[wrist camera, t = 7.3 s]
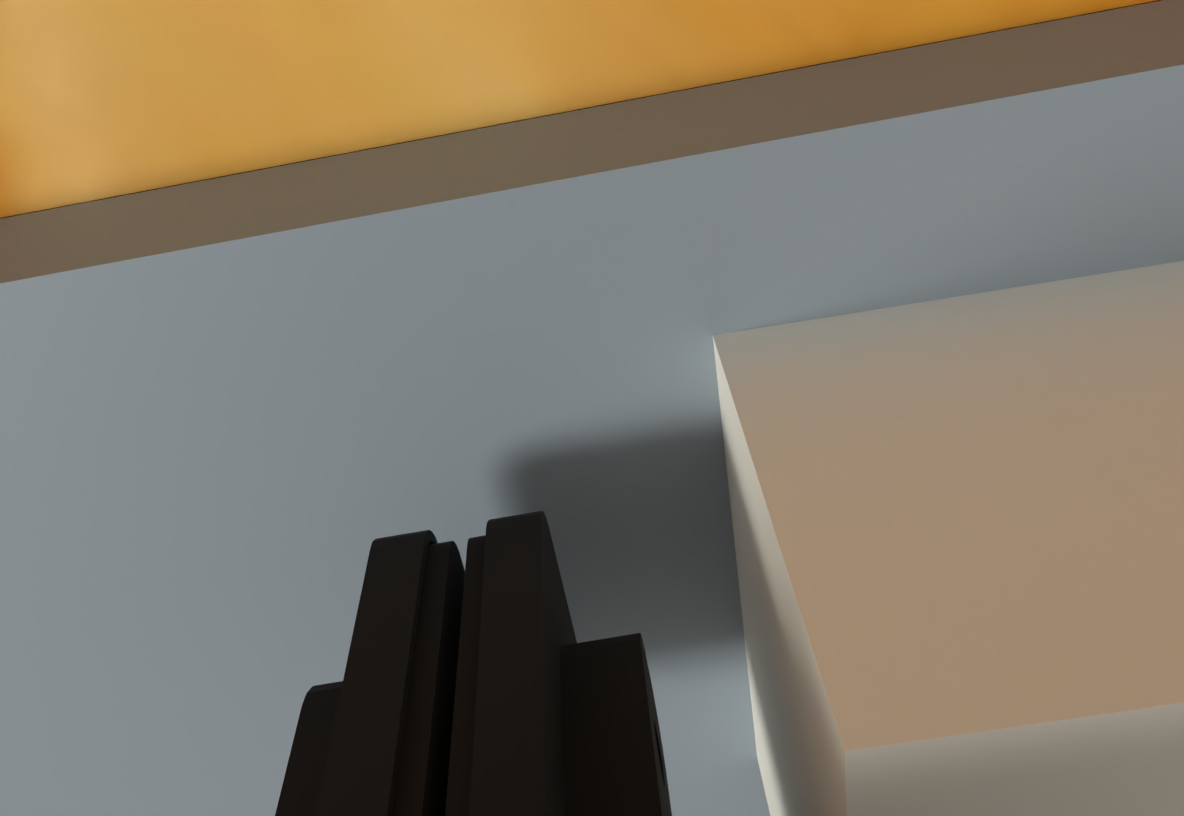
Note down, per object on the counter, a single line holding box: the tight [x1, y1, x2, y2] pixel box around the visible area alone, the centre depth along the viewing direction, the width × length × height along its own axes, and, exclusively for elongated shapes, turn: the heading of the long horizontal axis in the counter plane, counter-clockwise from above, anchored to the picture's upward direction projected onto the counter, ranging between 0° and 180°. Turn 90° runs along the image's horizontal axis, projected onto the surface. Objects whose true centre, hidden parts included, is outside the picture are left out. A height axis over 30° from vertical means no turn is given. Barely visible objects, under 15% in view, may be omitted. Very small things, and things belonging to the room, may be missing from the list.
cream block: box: [713, 261, 1184, 816], centre depth 10 cm, size 6×6×5 cm
